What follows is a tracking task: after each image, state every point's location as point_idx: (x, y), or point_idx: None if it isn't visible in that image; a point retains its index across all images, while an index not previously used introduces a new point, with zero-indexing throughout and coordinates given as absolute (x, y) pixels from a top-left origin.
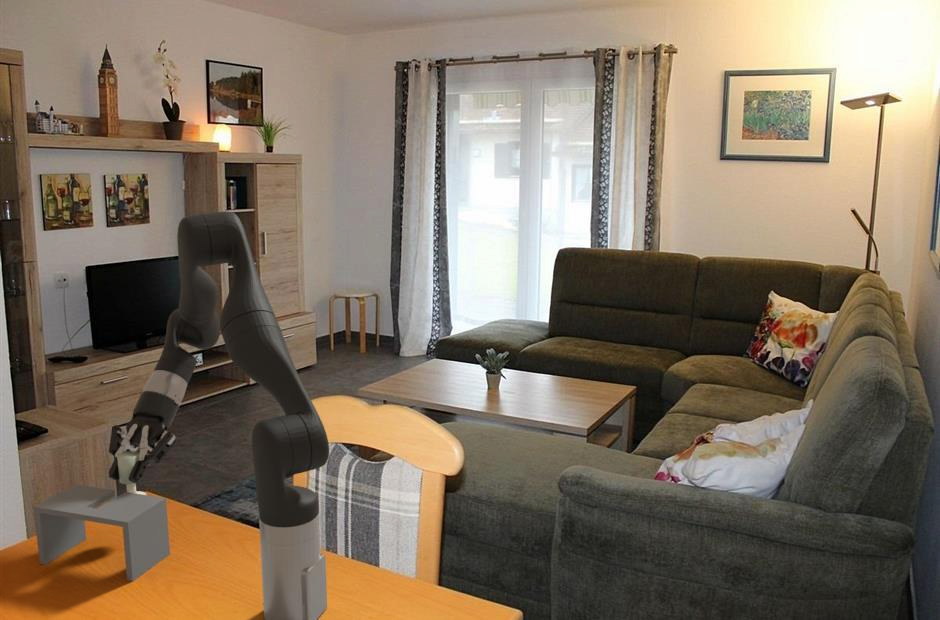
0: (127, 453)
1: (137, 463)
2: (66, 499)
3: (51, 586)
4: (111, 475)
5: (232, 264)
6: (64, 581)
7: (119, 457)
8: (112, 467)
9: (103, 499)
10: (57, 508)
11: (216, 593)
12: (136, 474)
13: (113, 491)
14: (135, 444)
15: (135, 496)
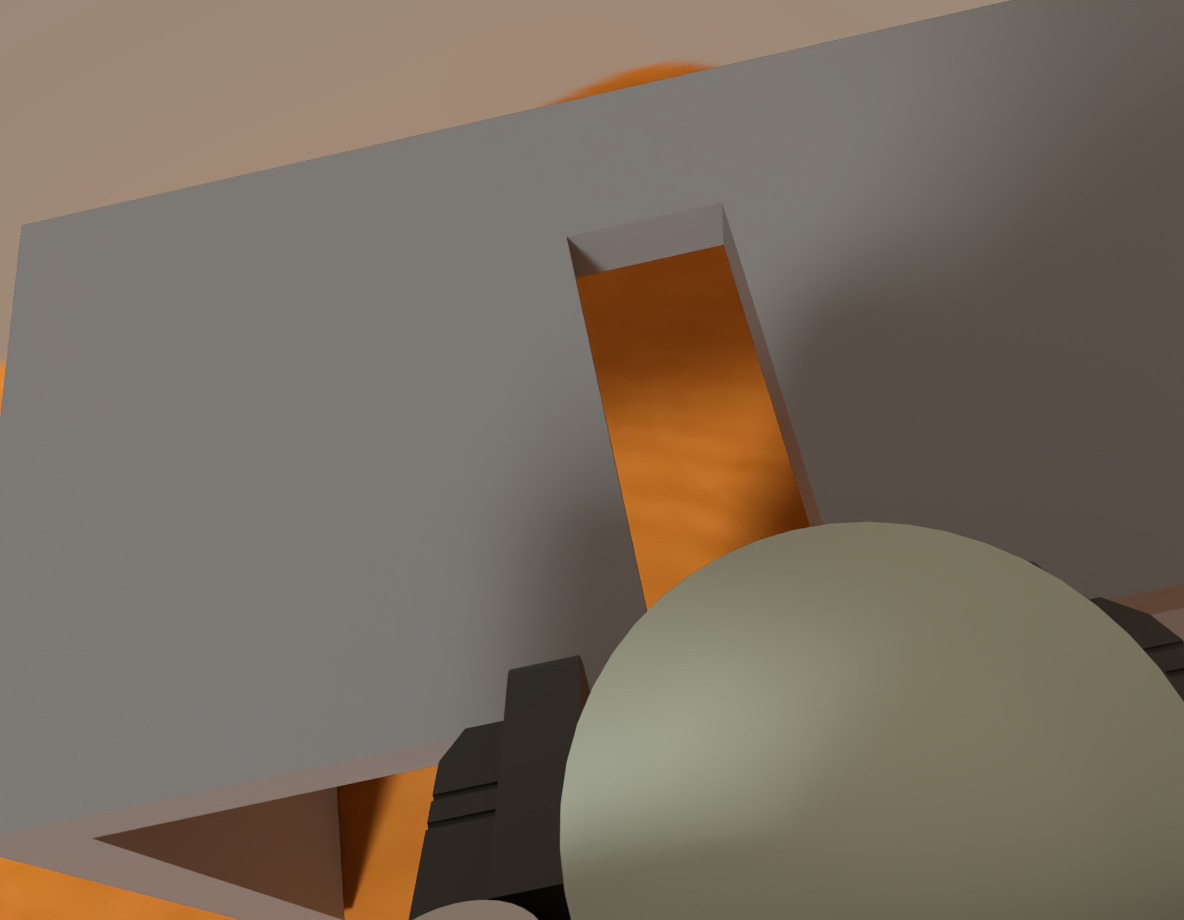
0: (1041, 905)
1: (521, 852)
2: (1119, 186)
3: (706, 255)
4: None
5: None
6: (690, 318)
7: (933, 565)
8: (1160, 664)
9: (796, 458)
10: (950, 45)
11: None
12: (476, 761)
13: None
14: None
15: (403, 660)
